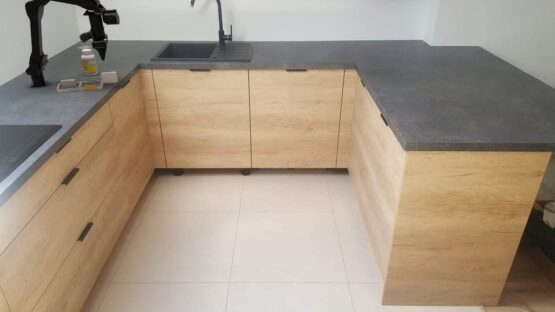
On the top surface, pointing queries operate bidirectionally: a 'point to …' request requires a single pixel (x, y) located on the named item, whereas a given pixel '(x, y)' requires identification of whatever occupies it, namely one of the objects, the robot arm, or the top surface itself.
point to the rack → (82, 86)
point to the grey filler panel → (68, 83)
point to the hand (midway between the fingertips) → (103, 58)
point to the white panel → (109, 77)
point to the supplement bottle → (89, 62)
